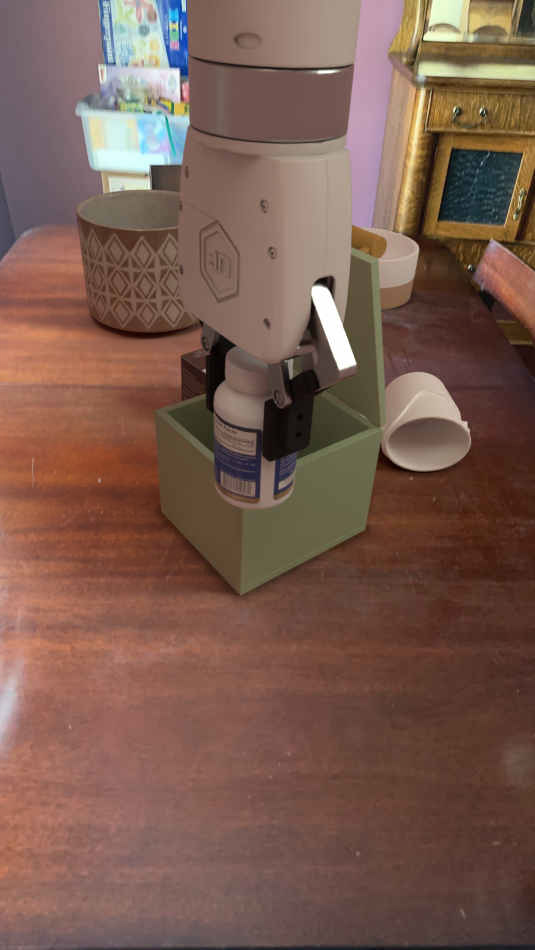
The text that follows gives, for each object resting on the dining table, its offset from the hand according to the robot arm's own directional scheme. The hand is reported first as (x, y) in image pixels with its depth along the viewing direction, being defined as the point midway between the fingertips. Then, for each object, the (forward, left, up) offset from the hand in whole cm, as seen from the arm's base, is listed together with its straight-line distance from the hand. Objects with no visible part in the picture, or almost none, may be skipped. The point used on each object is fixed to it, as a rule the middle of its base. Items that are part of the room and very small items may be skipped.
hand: (256, 426), depth 42 cm
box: (+32, +20, -23) cm, 44 cm away
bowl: (+79, +16, -23) cm, 84 cm away
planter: (+52, +42, -23) cm, 71 cm away
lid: (+20, +3, -2) cm, 20 cm away
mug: (+35, -4, -23) cm, 42 cm away
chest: (+15, +6, -22) cm, 28 cm away
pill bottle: (0, 0, -5) cm, 5 cm away
